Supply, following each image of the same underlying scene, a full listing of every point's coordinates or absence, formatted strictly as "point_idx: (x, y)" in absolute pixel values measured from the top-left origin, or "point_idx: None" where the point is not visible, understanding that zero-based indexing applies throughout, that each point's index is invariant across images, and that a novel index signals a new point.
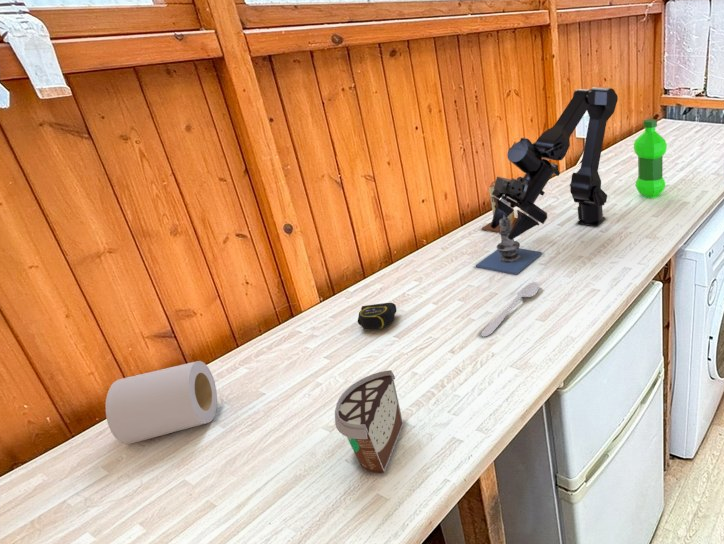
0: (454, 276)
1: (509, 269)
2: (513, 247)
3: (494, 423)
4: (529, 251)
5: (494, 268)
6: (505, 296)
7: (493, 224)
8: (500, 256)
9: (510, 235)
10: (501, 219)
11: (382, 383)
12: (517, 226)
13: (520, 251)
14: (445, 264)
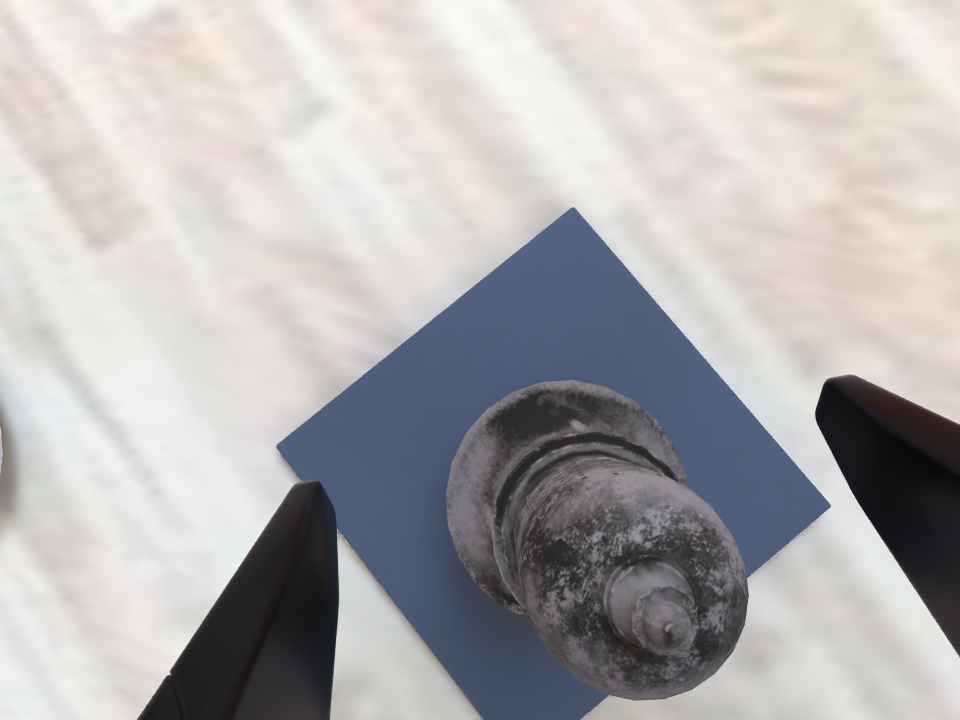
0: (506, 46)
1: (354, 417)
2: (473, 531)
3: None
4: None
5: (434, 318)
6: (31, 284)
7: (856, 417)
8: None
9: (273, 520)
10: (646, 527)
11: None
12: (163, 710)
13: None
14: (738, 24)
